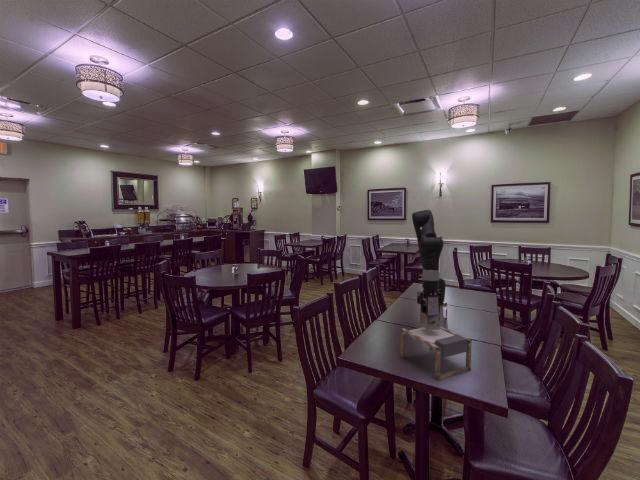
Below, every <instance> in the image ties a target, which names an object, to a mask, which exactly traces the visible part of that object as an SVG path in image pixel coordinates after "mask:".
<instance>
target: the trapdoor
mask: <svg viewBox="0 0 640 480" xmlns="http://www.w3.org/2000/svg"><path fill="white" fill-rule="evenodd" d="M408 331H410V332H412V333H414V334H416V335H417V336H419V337H421V338H423V339H425V340H427V341H429V342H431V343H433V344H435V345H436V346H438V347H440V348H441V357H442V358H443V359H444V358H448V357H452V356H457V355H460V354H463V353H466V352H467V337H466V338H464V337H465V336H463V335H461V334H459V335H456V336H455V335H453V334H450V333H448V332H446V331H444V330H442V329H439V330H427V329H426V328H425V327H419V328H415V329H409V330H408ZM460 335H461V336H460ZM462 336H463V337H462Z"/></svg>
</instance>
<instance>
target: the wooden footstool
mask: <svg viewBox="0 0 640 480" xmlns="http://www.w3.org/2000/svg"><path fill="white" fill-rule="evenodd" d="M440 329H442V330H444V331H446V332H448V333H450V334H453V335H455V336H456V335H460V336H462V337H464V338H467V337H465V336H463V335H461V334H459V333H456V332H454V331H451V330H449V329H448V328H445V327H444V328H443V327H441V326H440ZM400 331H401V332H400V333H401V334H400V337H401V338H400V357H401V358H405V357H406V335H407V336H408V337H410V338H412V339H414V340H416V341H417V342H420V343H422V344H424V345H425V346H426V347H428V349H429V350H430V351H434V354H435V355H434V356H435V357H434V380H437V381H440V380H443V379H446V378H449V377H453V376H456V375H459V374H463V373H466V372H469V371H471V369H472V368H471V367H472V343H473V342H472V339H470V338H467V352H465V366H463V367H459V368H454V369H452V370H448V371H445V372H442V373H441V348H440V347H438V346H436V345H435V344H433V343H431V342H429V341H427V340H425V339H423V338H421V337H419V336H417V335H416V334H414V333H412V332H410V331H409V330H408V329H406V328H404V327H403V328H401V329H400Z"/></svg>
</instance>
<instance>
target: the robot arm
mask: <svg viewBox="0 0 640 480" xmlns="http://www.w3.org/2000/svg"><path fill="white" fill-rule="evenodd" d="M411 215H412V216H411V219H412V224H413V228H414V231H415V235H416V240H417V241H416V242H417V246H418V253H419V256H420V261H421V267H422V277H421V278H422V279H421V285H422V291H417V292H416V293H417V297H416V298H417V299H416V300H417V301H416V304H417V305H419V306H420V305H421V312H422V313H426V306H425V305H426V299H424V296H432V295H438V296H440V326H441V327H443V328H445V316H444V301H445V298H446V297H445V296H446V281H445V280H444V279H443V278H440V273H439V272H440V269H439V268H440V266H439V265H440V264H439V263H440V258H441V253H442V251H443V249H444V240H443V238H441V237H438V236H437V233H436V231H435V221H434V216H433V212H432V211H431V210H430V209H423V210H420V211H415V212H413V213H412V214H411ZM423 302H424V303H423Z"/></svg>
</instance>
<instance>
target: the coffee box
mask: <svg viewBox="0 0 640 480" xmlns="http://www.w3.org/2000/svg"><path fill="white" fill-rule="evenodd" d="M424 299H426V305H425V306H426V313H422V312H421V305H420V304H419V307H420V308H419V309H420V311H419V312H420V313H419V319H420V320H419V322H420V323H419V324H420V325H421V326H422V328H424V327H425V328H426V329H427V330H439V329H440V296H438V295H432V296H424ZM423 303H424V302H423Z"/></svg>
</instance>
